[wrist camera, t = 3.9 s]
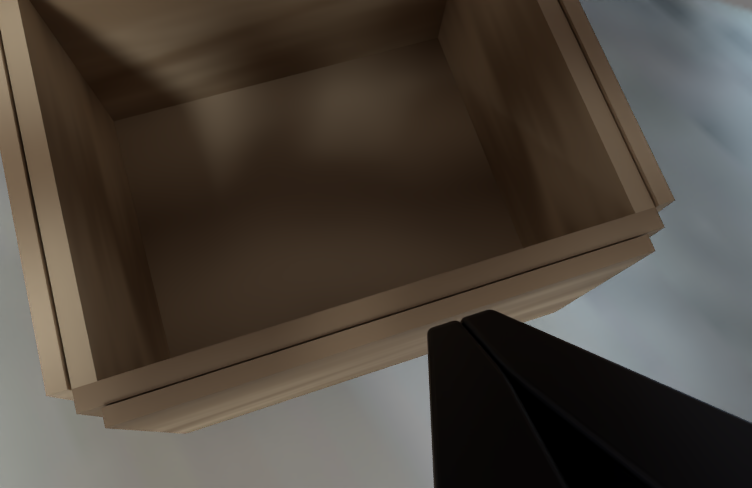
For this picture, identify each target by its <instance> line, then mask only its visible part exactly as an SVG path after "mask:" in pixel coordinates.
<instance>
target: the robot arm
mask: <svg viewBox="0 0 752 488" xmlns="http://www.w3.org/2000/svg"><path fill="white" fill-rule="evenodd" d="M427 345H428V367H429V389H430V411H431V433H432V455H433V477H434V488H752V423H751V422H749V421H746V420H744V419H742V418H739V417H737V416H735V415H733V414H730V413H728V412H726V411H723V410H721V409H719V408H717V407H714V406H712V405H710V404H707V403H705V402H703V401H701V400H698V399H696V398H694V397H691V396H689V395H687V394H685V393H682V392H680V391H678V390H675V389H673V388H671V387H669V386H666V385H664V384H662V383H659V382H657V381H655V380H653V379H650V378H648V377H646V376H644V375H641V374H639V373H637V372H634V371H632V370H630V369H628V368H625V367H623V366H621V365H618V364H616V363H614V362H612V361H609V360H607V359H605V358H602V357H600V356H598V355H596V354H593V353H591V352H589V351H586V350H584V349H582V348H580V347H577V346H575V345H573V344H570V343H568V342H566V341H564V340H561V339H559V338H557V337H554V336H552V335H550V334H548V333H545V332H543V331H541V330H539V329H536V328H534V327H532V326H529V325H527V324H525V323H523V322H520V321H518V320H516V319H513V318H511V317H509V316H507V315H504V314H502V313H500V312H497V311H495V310H490V309H489V310H484V311H481V312H478V313H475V314H472V315H469V316H466V317H464V318H462V320H461V321H460V322H459V321H450V322H447V323H444V324H441V325H438V326H435V327H432V328H430V329H429V330H428V332H427Z"/></svg>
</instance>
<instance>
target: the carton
mask: <svg viewBox="0 0 752 488" xmlns="http://www.w3.org/2000/svg"><path fill="white" fill-rule="evenodd" d="M0 151H1V156H2V162H3V167H4V172H5V178H6V183H7V188H8V194H9V199H10V204H11V210H12V215H13V220H14V226H15V231H16V236H17V242H18V247H19V252H20V258H21V263H22V268H23V274H24V279H25V284H26V290H27V295H28V300H29V306H30V311H31V316H32V322H33V327H34V332H35V338H36V343H37V348H38V354H39V359H40V364H41V370H42V375H43V380H44V386H45V391H46V396H49V397H56V398H62V399H68V400H74V403H75V408H76V413H77V414H82V415H90V416H99V417H103V420H104V424H105V428H110V429H125V430H140V431H154V432H169V433H183V434H186V433H189V432H192V431H195V430H198V429H201V428H204V427H207V426H211V425H214V424H217V423H220V422H223V421H226V420H229V419H232V418H235V417H238V416H241V415H244V414H247V413H250V412H253V411H256V410H259V409H262V408H265V407H268V406H271V405H274V404H277V403H280V402H283V401H286V400H289V399H293V398H296V397H299V396H302V395H305V394H308V393H311V392H314V391H317V390H320V389H323V388H326V387H329V386H332V385H335V384H338V383H341V382H344V381H347V380H350V379H353V378H356V377H359V376H362V375H365V374H368V373H371V372H375V371H378V370H381V369H384V368H387V367H390V366H393V365H396V364H399V363H402V362H405V361H408V360H411V359H414V358H417V357H420V356H423V355H426V354H428V345H427V332H428V330H429V329H430V328H432V327H435V326H438V325H441V324H444V323H447V322H450V321H459V322H460V321H461V320H462V318H464V317H466V316H469V315H472V314H475V313H478V312H481V311H484V310H489V309H490V310H495V311H497V312H500V313H502V314H504V315H507V316H509V317H511V318H513V319H516V320H518V321H520V322H526V321H529V320H532V319H535V318H539V317H542V316H545V315H548V314H551V313H554V312H556V311H558V310H559V309H561V308H563V307H564V306H566V305H567V304H569V303H571V302H572V301H574V300H576V299H577V298H579V297H581V296H582V295H584V294H585V293H587V292H589V291H590V290H592V289H594V288H595V287H597V286H599V285H600V284H602V283H603V282H605V281H607V280H608V279H610V278H612V277H613V276H615V275H617V274H618V273H620V272H621V271H623V270H625V269H626V268H628V267H630V266H631V265H633V264H635V263H636V262H638V261H639V260H641V259H643V258H644V257H646V256H648V255H649V254H651V253H653V252H654V251H655V249H654V247H653V244H652V242H651V240H650V238H649V237H651V236H652V235H654V234H655V233H657V232H658V231H660V230H661V229H663V228H664V225H663V223H662V220H661V218H660V216H659V214H658V212H659V211H661V210H662V209H663V208H665V207H666V206H668V205H669V204H670V203H672V202H673V201H674V200H675V199H674V197H673V195H672V193H671V191H670V189H669V187H668V184H667V182H666V180H665V178H664V176H663V174H662V172H661V170H660V168H659V166H658V164H657V162H656V160H655V157H654V155H653V153H652V151H651V149H650V147H649V145H648V143H647V141H646V139H645V137H644V135H643V133H642V131H641V128H640V126H639V124H638V122H637V120H636V118H635V116H634V114H633V112H632V110H631V108H630V106H629V104H628V101H627V99H626V97H625V95H624V93H623V91H622V89H621V87H620V85H619V83H618V81H617V79H616V77H615V74H614V72H613V70H612V68H611V66H610V64H609V62H608V60H607V58H606V56H605V54H604V52H603V50H602V48H601V45H600V43H599V41H598V39H597V37H596V35H595V33H594V31H593V29H592V27H591V25H590V23H589V21H588V18H587V16H586V14H585V12H584V10H583V8H582V6H581V4H580V2H579V0H0Z"/></svg>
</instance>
